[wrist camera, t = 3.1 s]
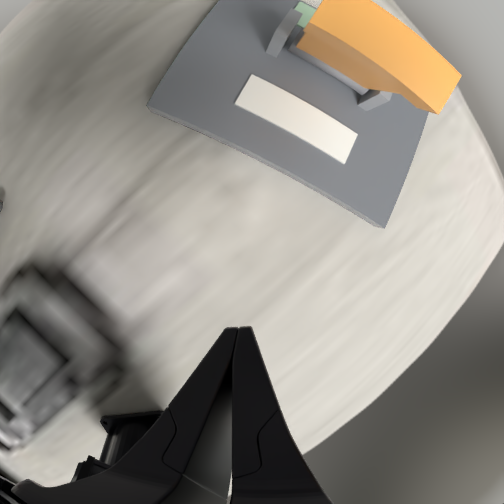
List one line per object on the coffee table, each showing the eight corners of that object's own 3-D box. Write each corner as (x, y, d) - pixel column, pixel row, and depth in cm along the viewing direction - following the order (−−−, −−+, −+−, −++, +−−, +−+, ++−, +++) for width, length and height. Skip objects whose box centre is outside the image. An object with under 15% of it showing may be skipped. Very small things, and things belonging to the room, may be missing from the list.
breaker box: (374, 226, 21) (409, 234, 17) (150, 111, 17) (135, 89, 13) (423, 95, 20) (457, 84, 15) (238, -14, 16) (245, -48, 12)
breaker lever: (357, 93, 17) (440, 116, 8) (286, 52, 16) (306, 20, 7) (370, 72, 16) (463, 77, 7) (300, 29, 15) (333, -22, 6)
